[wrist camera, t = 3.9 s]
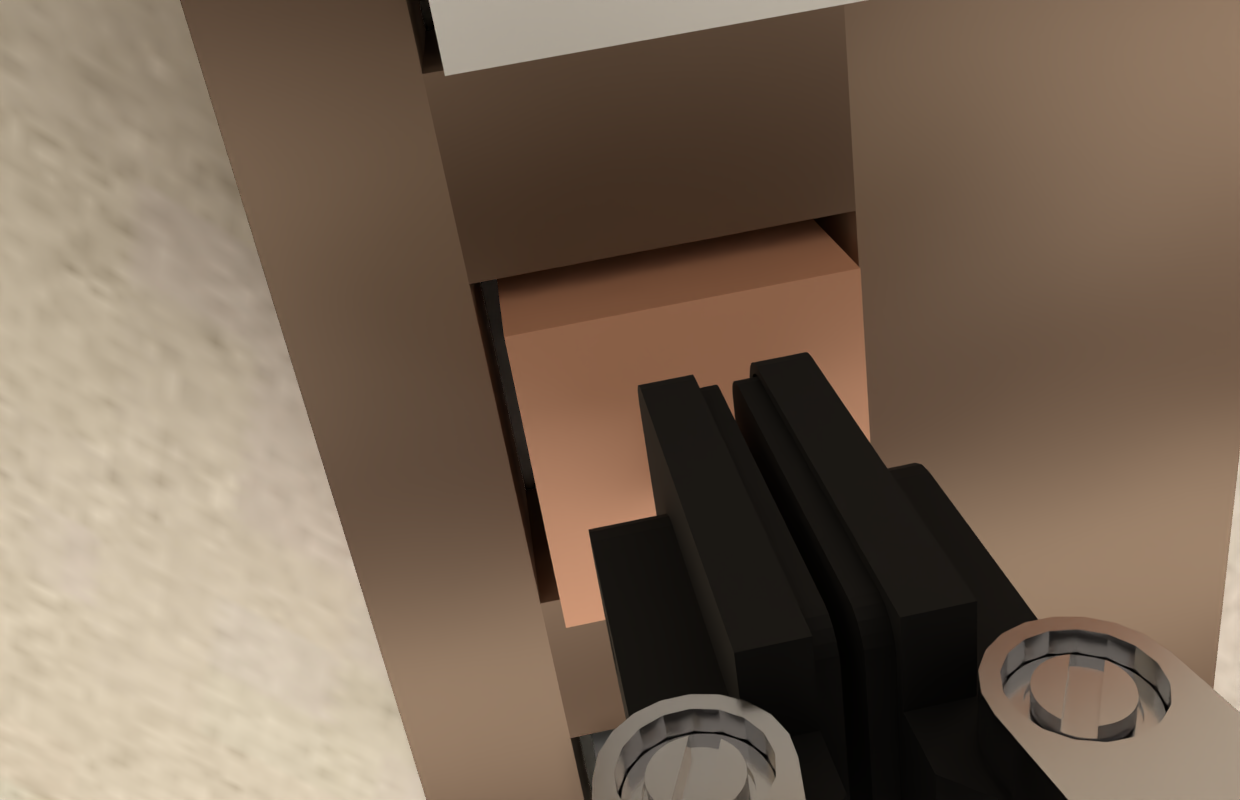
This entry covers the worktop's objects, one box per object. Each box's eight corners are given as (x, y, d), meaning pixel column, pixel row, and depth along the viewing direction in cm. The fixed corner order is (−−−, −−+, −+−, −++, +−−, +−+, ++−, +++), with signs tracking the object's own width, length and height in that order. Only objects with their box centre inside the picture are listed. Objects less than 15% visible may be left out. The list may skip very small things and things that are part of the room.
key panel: (78, -559, 12) (-41, -685, 9) (1186, -718, 13) (1412, -885, 10) (495, 901, 22) (504, 1065, 19) (1101, 767, 23) (1200, 906, 20)
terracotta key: (492, 236, 16) (504, 337, 13) (778, 183, 16) (860, 267, 13) (543, 486, 18) (566, 627, 14) (800, 435, 18) (877, 563, 15)
